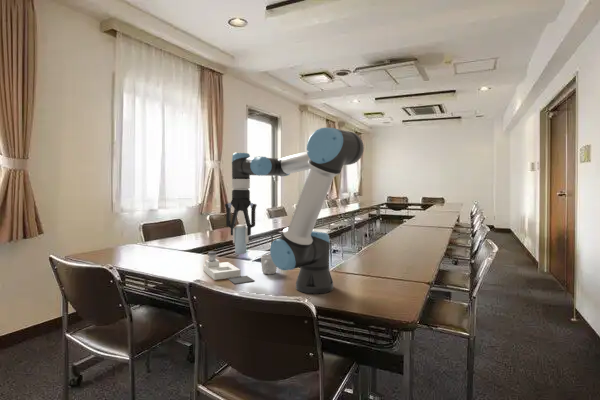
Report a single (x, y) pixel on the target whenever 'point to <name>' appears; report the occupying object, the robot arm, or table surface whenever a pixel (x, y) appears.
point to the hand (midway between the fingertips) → (240, 242)
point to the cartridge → (240, 239)
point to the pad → (240, 279)
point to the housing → (220, 270)
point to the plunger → (212, 256)
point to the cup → (268, 265)
